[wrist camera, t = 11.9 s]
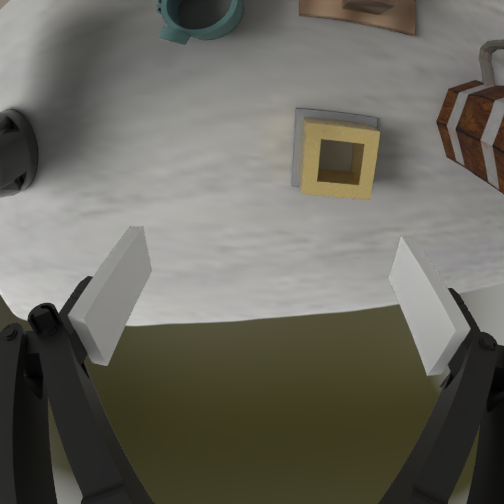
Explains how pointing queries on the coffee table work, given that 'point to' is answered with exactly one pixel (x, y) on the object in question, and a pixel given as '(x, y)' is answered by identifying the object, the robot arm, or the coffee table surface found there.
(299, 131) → the felt mat
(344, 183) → the hollow wooden square frame
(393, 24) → the post stand
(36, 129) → the coffee table surface
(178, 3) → the bracket
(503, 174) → the mug
